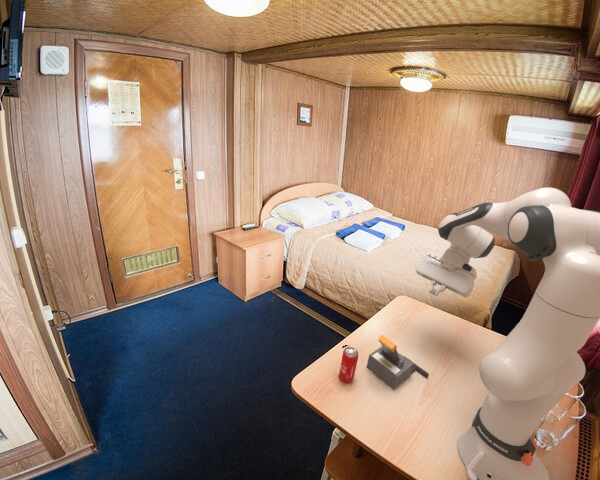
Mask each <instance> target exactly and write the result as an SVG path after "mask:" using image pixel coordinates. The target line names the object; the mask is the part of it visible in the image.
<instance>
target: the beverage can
mask: <svg viewBox="0 0 600 480" xmlns="http://www.w3.org/2000/svg"><path fill="white" fill-rule="evenodd" d="M343 349H344V350H343V351H342V357H341V362H340V367H339V368H340V369H339V372H338V376H339V378H340V381H341V382H342V383H345V384H350V383H351V382H353V380H354V379H355V375H356V369H357V365H358V361H359V360H358V359H359V352H358V349H356V348H355V347H352V346H346V347H344V348H343Z"/></svg>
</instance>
